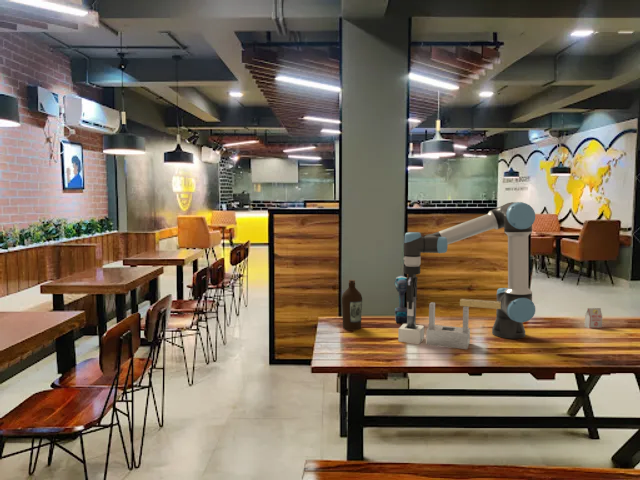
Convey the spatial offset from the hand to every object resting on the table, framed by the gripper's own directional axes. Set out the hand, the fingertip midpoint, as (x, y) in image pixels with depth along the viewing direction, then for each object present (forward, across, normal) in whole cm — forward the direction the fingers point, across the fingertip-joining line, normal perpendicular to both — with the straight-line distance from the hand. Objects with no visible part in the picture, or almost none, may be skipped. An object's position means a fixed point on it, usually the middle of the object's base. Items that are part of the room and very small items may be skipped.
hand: (411, 314), depth 221 cm
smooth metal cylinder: (+8, 0, 0) cm, 8 cm away
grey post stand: (+12, 0, +17) cm, 21 cm away
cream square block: (+12, 0, 0) cm, 12 cm away
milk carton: (+12, -59, +82) cm, 102 cm away
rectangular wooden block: (-6, 0, +31) cm, 31 cm away
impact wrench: (+12, -33, -13) cm, 38 cm away
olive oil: (+12, -9, -33) cm, 36 cm away
